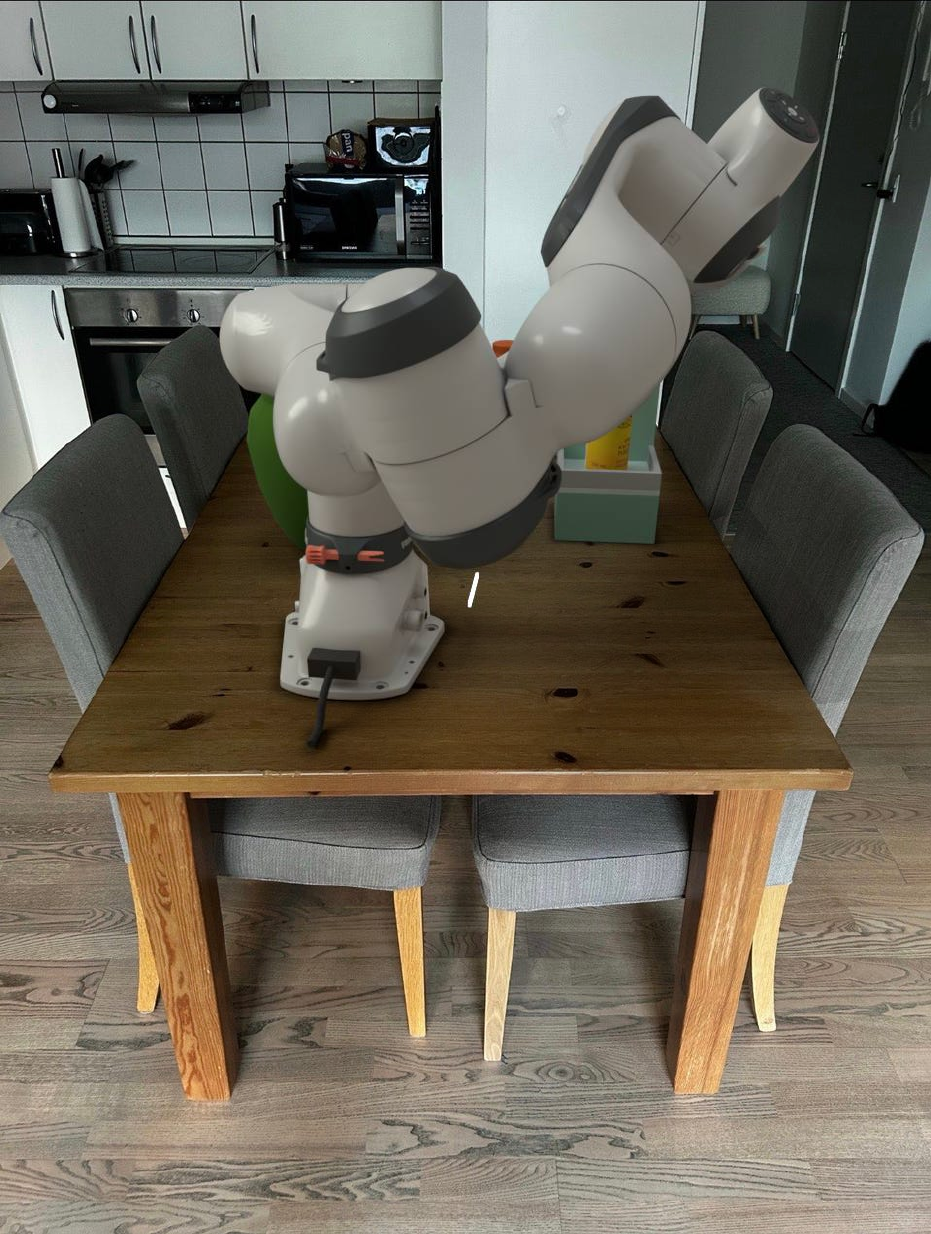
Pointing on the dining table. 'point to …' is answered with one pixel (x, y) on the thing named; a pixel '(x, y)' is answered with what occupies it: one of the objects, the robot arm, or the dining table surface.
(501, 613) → the dining table surface
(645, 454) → the shelf unit
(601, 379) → the robot arm
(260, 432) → the vase
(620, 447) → the beer can
